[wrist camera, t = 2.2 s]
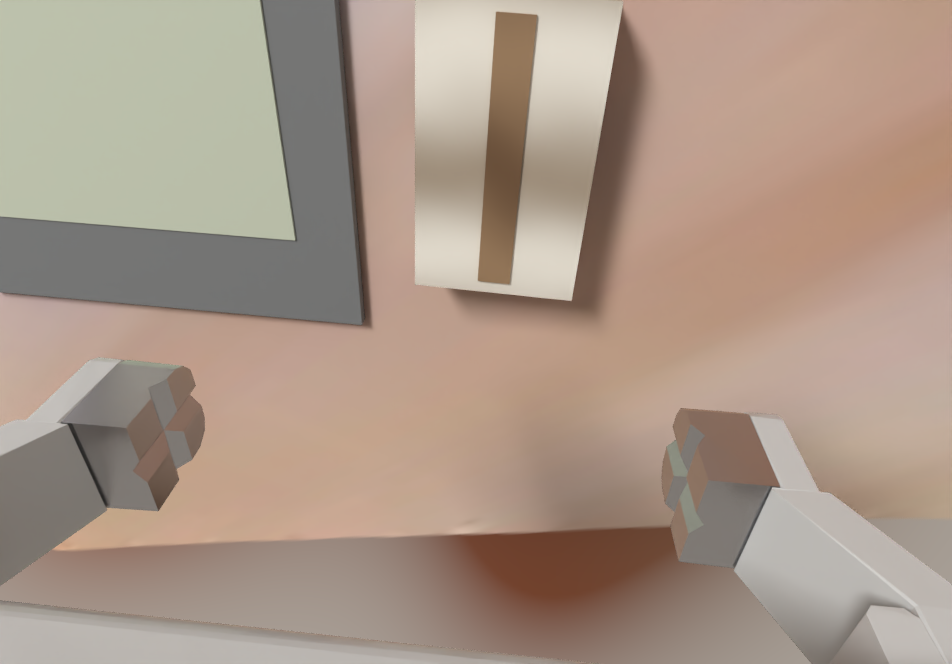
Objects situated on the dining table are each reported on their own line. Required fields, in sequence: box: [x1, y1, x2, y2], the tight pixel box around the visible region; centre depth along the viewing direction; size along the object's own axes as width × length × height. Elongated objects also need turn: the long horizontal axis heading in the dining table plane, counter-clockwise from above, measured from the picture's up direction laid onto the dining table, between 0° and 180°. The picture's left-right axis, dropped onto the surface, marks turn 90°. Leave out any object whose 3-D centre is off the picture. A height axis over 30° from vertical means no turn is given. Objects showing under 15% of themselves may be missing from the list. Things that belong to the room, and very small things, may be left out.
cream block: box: [415, 0, 623, 301], centre depth 21 cm, size 10×6×3 cm, turn 177°
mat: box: [0, 0, 365, 325], centre depth 23 cm, size 18×17×1 cm
